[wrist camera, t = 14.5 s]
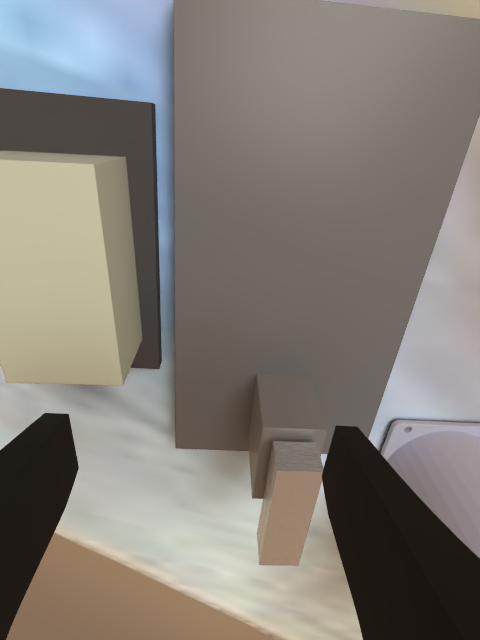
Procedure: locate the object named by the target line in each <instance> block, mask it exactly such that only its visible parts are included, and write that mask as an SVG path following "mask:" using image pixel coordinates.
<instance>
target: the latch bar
mask: <svg viewBox="0 0 480 640" xmlns="http://www.w3.org/2000/svg"><path fill="white" fill-rule="evenodd" d="M322 473H323V465H322V462H321V458H320V455H319V451H318V447H317V444H316V443H312V442H287V441H273V444H272V450H271V456H270V461H269V467H268V473H267V479H266V484H265V490H264V496H263V502H262V508H261V513H260V519H259V525H258V531H257V540H258V555H259V565H292V566H298V564H299V560H300V557H301V553H302V550H303V546H304V543H305V539H306V536H307V532H308V529H309V525H310V522H311V518H312V514H313V511H314V507H315V504H316V500H317V497H318V493H319V490H320V486H321V483H322Z"/></svg>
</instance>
